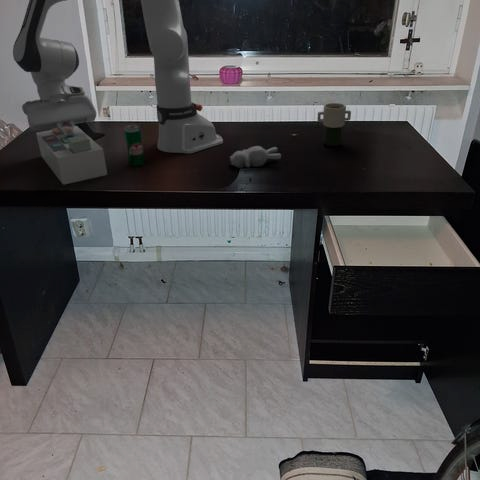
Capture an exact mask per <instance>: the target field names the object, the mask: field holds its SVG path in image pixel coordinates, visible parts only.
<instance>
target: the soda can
mask: <svg viewBox="0 0 480 480" xmlns="http://www.w3.org/2000/svg"><path fill="white" fill-rule="evenodd" d="M123 135H124V140H125V148H126V155H127V160H128V165H129V166H131V167H133V168H135V167H137V168H138V167H142V166H143V165H145V163H146V159H145V151H144V144H143V143H144V142H143V136H142V129H141V127H140V125H138V124H129V125H126V126H124V129H123Z"/></svg>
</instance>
